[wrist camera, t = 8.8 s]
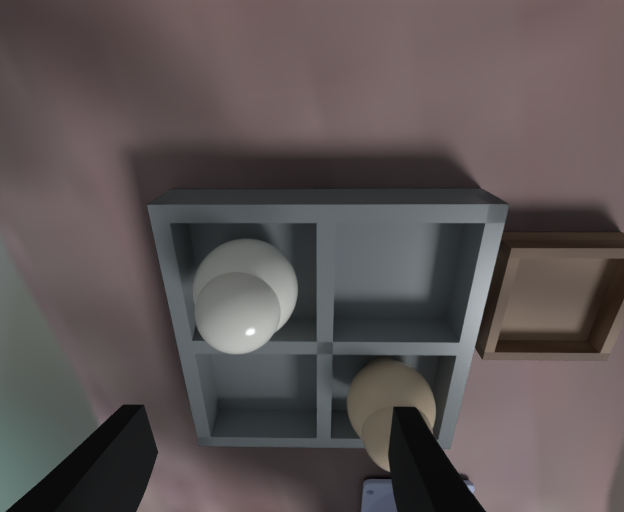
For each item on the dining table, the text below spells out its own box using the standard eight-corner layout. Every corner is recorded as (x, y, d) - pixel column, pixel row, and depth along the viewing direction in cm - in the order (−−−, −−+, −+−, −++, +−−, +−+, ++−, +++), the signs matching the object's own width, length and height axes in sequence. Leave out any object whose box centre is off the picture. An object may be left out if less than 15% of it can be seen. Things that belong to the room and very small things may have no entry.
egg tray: (436, 412, 23) (449, 449, 20) (211, 409, 23) (199, 446, 20) (481, 188, 16) (509, 204, 14) (171, 189, 17) (146, 204, 14)
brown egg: (417, 401, 21) (448, 499, 16) (342, 400, 21) (350, 497, 16) (427, 342, 19) (466, 431, 14) (345, 341, 20) (354, 430, 14)
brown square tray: (580, 336, 20) (606, 360, 18) (467, 335, 20) (482, 359, 18) (621, 232, 17) (657, 248, 15) (491, 232, 17) (511, 248, 15)
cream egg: (301, 305, 19) (294, 385, 13) (216, 304, 19) (176, 384, 13) (299, 223, 17) (290, 281, 11) (204, 224, 17) (152, 281, 12)
